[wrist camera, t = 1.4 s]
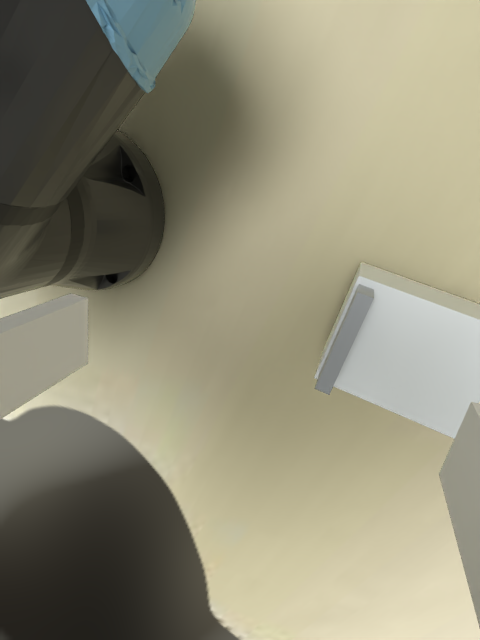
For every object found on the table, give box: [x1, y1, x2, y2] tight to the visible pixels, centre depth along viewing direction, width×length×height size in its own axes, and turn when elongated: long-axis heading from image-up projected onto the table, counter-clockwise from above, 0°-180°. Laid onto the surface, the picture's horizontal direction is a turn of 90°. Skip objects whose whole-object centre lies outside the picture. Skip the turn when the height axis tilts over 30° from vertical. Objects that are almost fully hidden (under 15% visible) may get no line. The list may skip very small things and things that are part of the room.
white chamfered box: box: [314, 262, 480, 439], centre depth 27 cm, size 10×8×9 cm
